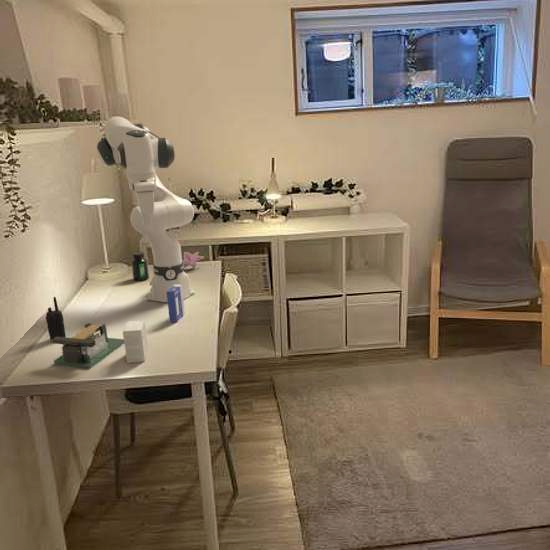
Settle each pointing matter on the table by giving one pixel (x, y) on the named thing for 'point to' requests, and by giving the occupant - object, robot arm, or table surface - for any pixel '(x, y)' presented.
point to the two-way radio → (55, 322)
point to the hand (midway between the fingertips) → (147, 224)
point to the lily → (191, 259)
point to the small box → (135, 341)
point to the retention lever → (79, 338)
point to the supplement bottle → (139, 267)
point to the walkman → (175, 303)
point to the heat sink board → (89, 350)
